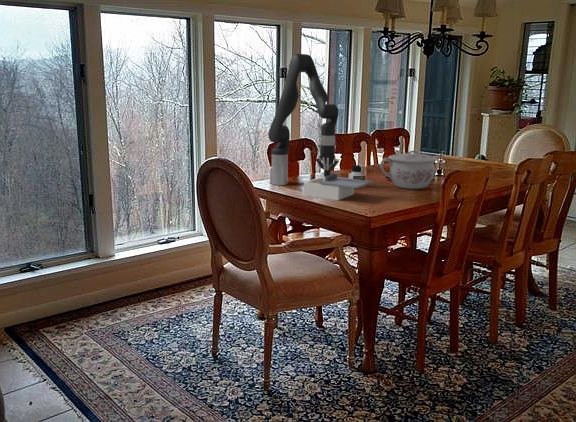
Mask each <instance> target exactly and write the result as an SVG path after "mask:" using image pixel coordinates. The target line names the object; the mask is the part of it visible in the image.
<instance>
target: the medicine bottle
mask: <svg viewBox="0 0 576 422" xmlns="http://www.w3.org/2000/svg"><path fill="white" fill-rule="evenodd" d="M363 168H364V167H363V165H359V164H355V165H352V166H351V172H349V173H348V178H351V179H360V180H366V175H365V174H363ZM365 187H366V185H364V186H362V187H359V188H365ZM359 188H358V189H359Z"/></svg>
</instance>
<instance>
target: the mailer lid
mask: <svg viewBox="0 0 576 422" xmlns="http://www.w3.org/2000/svg"><path fill="white" fill-rule="evenodd" d="M324 178H325V181H322V182H320V184H326V185H334V186H343V187H351V188H354V189H359V187H362V186H364V185H365V186H367V185H370V184H372V183H373V180H368V179H365V180H360V179H351V178H349V177H340V176H338V173H330V175H328V176H324Z"/></svg>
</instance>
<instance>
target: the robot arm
mask: <svg viewBox="0 0 576 422" xmlns="http://www.w3.org/2000/svg"><path fill="white" fill-rule="evenodd" d="M290 58H291V59H290V61H289V65H288V69H287V75H286V80H285V83H284V87H283V89H282V93H281V95H280V99H279V103H278V106H277V109H276V112H275V114H274V116H273V120H272V122H271V124H270V127H269V129H268V139H269V141H270V142H272V143H277V144H276V145H275V146H274V147H273V148H271V166H270V167H269V184H271V185H273V186H287V185H288V180H289V179H288V176H289V174H288V169H289V168H288V166H289V165H288V163H289V160H288V159H289V157H288V156H289V154H288V153H289V149H290V140H291V138H290V137H291V134H290V132H291V131H290V129H289V127H288V126H287V125H285V122H286V120H287V119H288V117H290V115H291V114H292V113H293V112H294V111H295V109H296V106H297V104H298V100H299V97H300V93H299V89H298V88H299V87H298V78H299V75H300V73H305V74H306V76H307V77H308V79H309V91H310V92H309V93H310V94H311V96H312V98H313V100H314V102H315V105H316V110H317V114H318V116H319V117H320V118H321V119H324V120H326V122H324V123H322V124H321V129H320V130H321V133H320V148H319V149H320V150H319V151H320V154H319V157H318V158H316V159H315V162H316V163H317V164H318V166H319V168H320V169H321V170H323V176H324V177H325V176H328V175H331V170H335V168H336V166H338V164H339V162H340V160H339V159H337V158H336V155H335V154H336V126H337V122H338V120H339V114H340V112H339V108H338V106H337V105H336V104H333V103H332V104H330V103H329V104H327V102H329V95H328V93H327V92H326V89H325V88H324V86H323V84H322V82H321V79H320V76H319V73H318V71H317V67H316V64H315V62H314V59H313V58H312V56H311V55H310V54H307V53H306V54H305V53H295V54H293V55H292V56H291V57H290Z"/></svg>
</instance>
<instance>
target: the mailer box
mask: <svg viewBox="0 0 576 422" xmlns="http://www.w3.org/2000/svg"><path fill="white" fill-rule="evenodd" d="M322 181H325V177H317V178H314V179H310V180H306V181H304V182H303V197H304V196H305V197H312V198H320V199H326V200H334V201H340V200H342V199H346V198H349V197H351V196H352V195H354V194H355V188H351V187H343V186H334V185H326V184H320V182H322Z"/></svg>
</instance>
